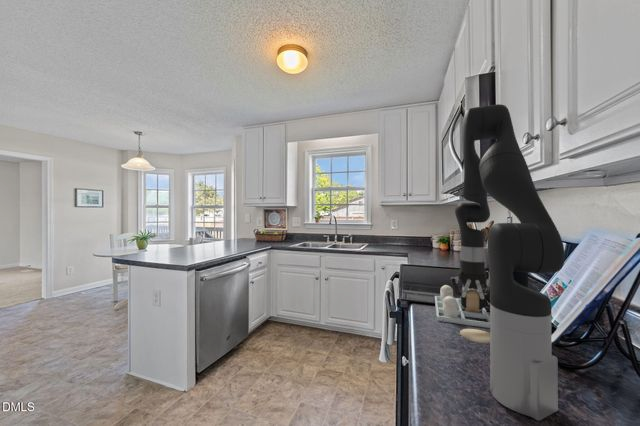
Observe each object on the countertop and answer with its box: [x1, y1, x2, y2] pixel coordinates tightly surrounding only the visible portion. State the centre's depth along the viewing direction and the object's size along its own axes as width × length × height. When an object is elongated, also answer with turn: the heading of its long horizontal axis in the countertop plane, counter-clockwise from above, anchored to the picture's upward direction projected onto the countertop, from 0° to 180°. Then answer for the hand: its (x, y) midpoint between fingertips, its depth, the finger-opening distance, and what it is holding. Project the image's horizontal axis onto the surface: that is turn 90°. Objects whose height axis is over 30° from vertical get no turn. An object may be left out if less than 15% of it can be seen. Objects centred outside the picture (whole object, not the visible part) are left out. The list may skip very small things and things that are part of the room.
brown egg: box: [464, 289, 481, 313], centre depth 92 cm, size 4×4×7 cm
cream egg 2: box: [442, 296, 459, 318], centre depth 88 cm, size 4×4×7 cm
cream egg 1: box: [439, 284, 454, 302], centre depth 102 cm, size 4×4×7 cm
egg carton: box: [434, 295, 490, 329], centre depth 93 cm, size 23×16×2 cm
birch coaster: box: [459, 328, 490, 344], centre depth 75 cm, size 9×9×1 cm
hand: (472, 308), depth 92 cm, fingers closed on brown egg, 4 cm apart
